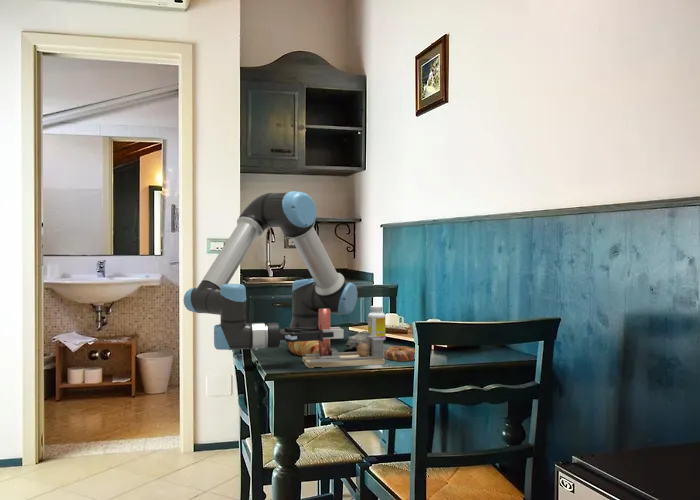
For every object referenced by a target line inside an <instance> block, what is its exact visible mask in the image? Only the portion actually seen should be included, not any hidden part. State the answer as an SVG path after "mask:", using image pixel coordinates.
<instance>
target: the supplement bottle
mask: <svg viewBox="0 0 700 500" xmlns="http://www.w3.org/2000/svg"><path fill="white" fill-rule="evenodd" d="M383 310H384V306H383V305H371V306H370V312H369V313H368V315H367V327H368V328H367V331H368V332H370V333H371V334H373V335H376V336H378V337H380V338H382V339H383V341H386V336H387V335H386V332H387V331H386V328H387V326H386V314H385V313H384V311H383Z"/></svg>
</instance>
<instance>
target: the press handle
mask: <svg viewBox="0 0 700 500" xmlns="http://www.w3.org/2000/svg"><path fill="white" fill-rule="evenodd" d="M330 327H331V313H330V309H328V308H321V309H319V331H320V330H330ZM318 341H319V340H318ZM338 353H339V350H337V349H336V348H334V347H333V348H332V347H331V339H323V342H321V341H319V352H316V357H317V358H318V359H333V358H340V356H339V355H338Z"/></svg>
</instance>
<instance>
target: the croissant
mask: <svg viewBox="0 0 700 500" xmlns="http://www.w3.org/2000/svg"><path fill="white" fill-rule="evenodd" d="M286 343H287V347H288V350H289V351H290V353H292V354H294V355H296V354H297V356H299V355H300V356H301V357H306V354H316V352H319V340H317V341H298V342H286Z"/></svg>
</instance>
